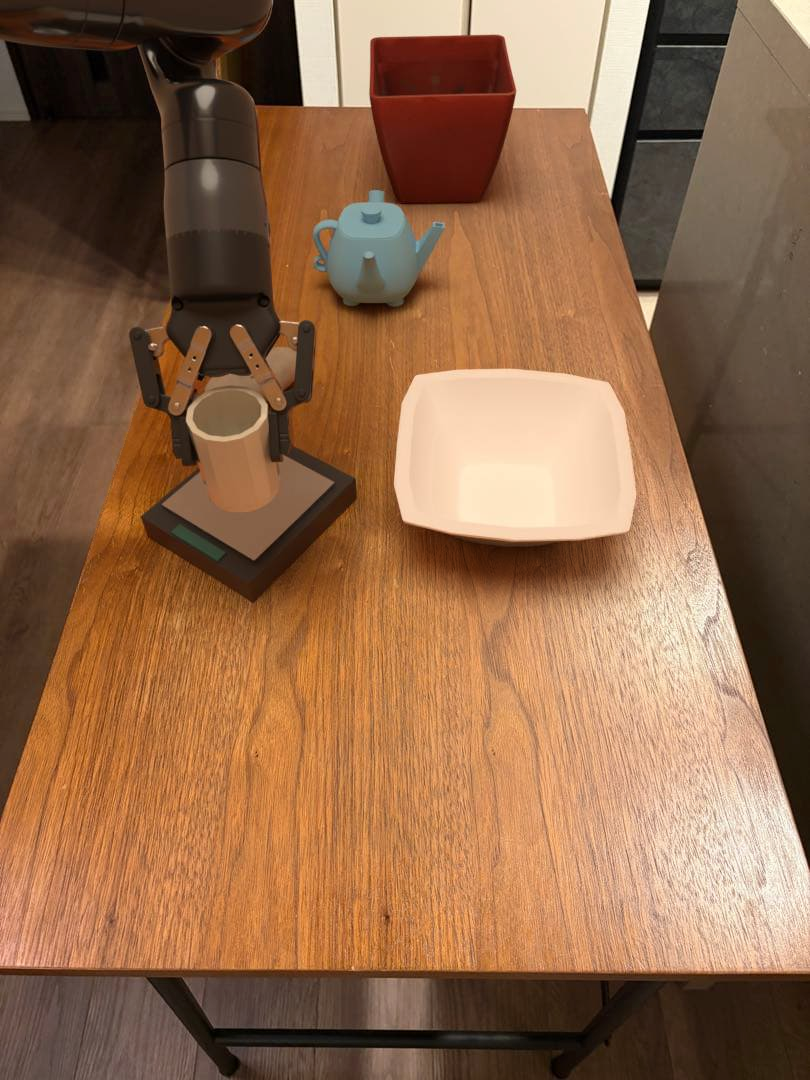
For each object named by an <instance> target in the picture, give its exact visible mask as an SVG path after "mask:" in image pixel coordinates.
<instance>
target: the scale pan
mask: <svg viewBox="0 0 810 1080" xmlns="http://www.w3.org/2000/svg"><path fill="white" fill-rule="evenodd" d="M278 464H279V469H280V479H281V484H280V488H279V491H278V493H277V495H276V496H275V497H274V499H273V500H272V501H270V502H269V503H268V504H266V505H265V506H263V507H261V508H259V509H257V510H253V511H249V512H242V513H237V512H229V511H226V510H223V509H221V508H219V507H217V506H216V505H215V504H214V503H213V502H212V501H211V500H210V498H209V497H208V494H207V491H206V489H205V486H204V483H203V479H202V476H201V472H199V473H198V474H197V475H196V476H194V477H193V478H192V479H191V480H190V481H188V482H187V483H186V484H185V485H184V486H182V487H181V488H180V489H179V490H178V491H177V492H175V493H174V494H173V495H172V496H171V497H169V498H168V499H167V500H166V501H165V502H164V503H162V508H163V509H165V510H167V511H168V512H170V513H172V514H173V515H175V516H177V517H178V518H180V519H181V520H183V521H185V522H186V523H188V524H190V525H191V526H193V527H195V528H196V529H198V530H200V531H201V532H203V533H205V534H206V535H208V536H210V537H211V538H213V539H214V540H216V541H218V542H219V543H221V544H223V545H224V546H226V547H228V548H229V549H231V550H233V551H234V552H236V553H238V554H239V555H241V556H243V557H244V558H246V559H247V560H249V561H251V562H252V563H254V564H255V563H256V562H257V561H258V560H260V559H261V558H262V557H263V556H264V555H265V554H266V553H267V552H268V551H269V550H270V549H271V548H272V547H273V546H274V545H275V544H276V543H277V542H278V541H279V540H280V539H281V538H282V537H283V536H284V535H285V534H286V533H287V532H288V531H289V530H290V529H291V528H292V527H293V526H295V525H296V524H297V523H298V522H299V521H300V520H301V519H302V518H303V517H304V516H305V515H306V514H307V513H308V512H309V511H310V510H311V509H312V508H313V507H314V506H315V505H316V504H317V503H318V502H319V501H320V500H321V499H322V498H323V497H324V496H325V495H326V494H327V493H328V492H330V491H331V490H332V489H333V488H334V487H335V482H334V481H332V480H330V479H328V478H326V477H324V476H322V475H320V474H319V473H317V472H315V471H313V470H311V469H309V468H307V467H305V466H304V465H302V464H300V463H298V462H296V461H294V460H292V459H290V458H289V457H287V456H285V455H283V462H278Z"/></svg>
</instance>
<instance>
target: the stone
mask: <svg viewBox="0 0 810 1080" xmlns="http://www.w3.org/2000/svg"><path fill="white" fill-rule="evenodd" d="M296 353H297V351H293V350H292V349H291V348H290V347H289V346H288V347H287V346H275V347H273V348H272V349H271V351H270V352H269V354H268V356H267V357H266V360H267V362H268V364H269V366H270V368H271V369H272V371H273V373H274V375H275V376H276V378H277V380H278V382H279V384H280V386H281V388H282V390H283V391H286V389H287V388H289V387H290V386H291V385H292V384H294V382H295V368H296ZM228 385H234V386H243V387H248V388H250V389H252V390H254V391H256V392H258V393H260V394H261V395H262V397H263V398H264V400H265V401H266V402H269V401H268V400H267V398H266V396H265V394H264V393H263V391H262V389H261V387H260V386H259V384H258V383H257V381H256V379H255V378H254V376H253V374H250V376H238V375H233V374H228V375H225V376H222V377H210V379H209V380H208V381H207V383H206V386H205V388H204V393H205V392H207V391H209V390H211V389H213V388H218V387H223V386H228Z"/></svg>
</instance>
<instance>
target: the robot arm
mask: <svg viewBox="0 0 810 1080" xmlns="http://www.w3.org/2000/svg"><path fill="white" fill-rule="evenodd" d="M273 5H274V0H0V41H4V42H10V43H14V44H21V45H28V46H33V47H34V46H35V47H43V48H52V49H53V48H54V49H68V50H69V49H70V50H81V51H82V50H83V51H97V52H101V51H102V52H116V51H126V50H130V49H132V48H135V47H137V48H138V52H139V54H140V55H139V56H140V58H141V61H142V64H143V66H144V67H143V68H144V71H145V72H146V77H147V80H148V83H149V87H150V90H151V93H152V95H153V98H154V100H155V103H156V107H157V108H158V112H159V115H160V130H161V143H162V155H163V156H162V157H163V170H164V191H163V215H164V216H163V217H164V229H165V242H166V253H167V254H166V255H167V269H168V280H169V281H168V282H169V294H170V295H169V296H170V306H171V307H170V308H171V309H170V315H169V318H168V319H167V322H166V325H162V326H156V327H152V328H146V329H145V328H142V327H140V326H134V327H133V328H131V329H130V331H129V334H128V337H129V341H130V346H131V352H132V355H133V360H134V364H135V369H136V374H137V379H138V383H139V387H140V388H139V389H140V392H141V397H142V402H143V404H144V406H146V407H147V408H150V409H154V410H156V411H160V412H163V413H165V414H167V416H168V417H169V420H170V429H171V430H170V431H171V443H172V453H173V455H174V457H175V459H176V460H179V459H181V464H182V466H183V467H197V466H198V462H197V458H196V455H195V451H194V448H193V444H192V441H191V437H190V434H189V430H188V427H187V423H186V416H187V409H188V407H189V406H190V405H191V404H192V402H193V401H194V400H195V399H196V398H197V397H198V396H199V392H201V390H202V388H203V386H204V384H205V381H206V379H207V377H208V378H212V377H222V376H225V375H228V374H233V375H238V376H250V374H253V376H254V378H255V379H256V381H257V383H258V384H259V386H260V387H261V389H262V391H263V393H264V394H265V396H266V398H267V400H268V401H267V402H268V403H269V405H270V412H269V413H268V417H269V435H270V450H271V461H272V462H283V454H289V452H290V449H291V445H292V441H291V426H290V425H291V424H290V423H291V422H290V413H291V411H292V410H293V409H294V408H295V407H298V406H301V405H303V404H307V403H309V402H311V400H312V398H313V391H314V390H313V389H314V375H315V362H316V349H317V347H316V346H317V335H318V333H317V332H318V331H317V328H316V326H315V324H314V323H313V321H310V320H308V319H304V320H301V321H300V322H299V321H289V320H281V319H280V318H279V316H278V315H277V312H276V309H275V303H274V291H273V288H274V287H273V276H272V275H273V273H272V262H271V261H272V259H271V243H270V237H271V224H270V222H269V213H268V204H267V197H266V191H265V188H264V187H265V186H264V182H263V174H262V173H263V171H262V157H261V141H260V127H259V117H258V110H257V106H256V104H255V101H254V98H253V97H252V96H251V94H250V92H248V91H247V90H246V89H245V88H244V87H242V86H241V85H240V84H237V83H235V82H234V81H229V80H226V79H221V78H218V72H217V62H218V61H217V60H218V59H219V58H221V57H223V56H225V55H227V54H229V53H230V52H233V51H234V50H236V49H239V48H240V47H242V46H244V45H246V44H248V43H250V42H251V41H253V40H254V39H256V38H257V36H259V35H260V34H261V32H262V31H263V30H264V29H265V27H266V25H268V22H269V20H270V17H271V15H272V9H273ZM281 336H284V337H285V338H286V341H287V345H288V348H291V349H292V350H293V351H297V353H296V368H295V380H294V381H293V385H294V386H293V388H290V389H288V390H282V388H281V386H280V384H279V382H278V380H277V378H276V376H275V375H274V373H273V371H272V369H271V368H270V366H269V364H268V362H267V360H266V357H267V356H268V354H269V352H270V351H271V349H272V348H274V346H275V344H277V342H278V340H279V339H280V337H281ZM169 341H171V343H172V344H173V345H174V347H176V349H177V351H179V353H181V355H182V356H183V357H184V360H183V363H182V366H181V368H180V369H179V373H178V375H177V378H176V385H175V387H174V390H173V392H172V394H171V396H170V395H167V394H166V389H165V385H164V379H163V375H162V370H161V364H160V360H159V358H161V357H163V356H164V355H165V351H166V348H165V346H166V344H167V342H169Z"/></svg>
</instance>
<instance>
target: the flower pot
mask: <svg viewBox="0 0 810 1080" xmlns="http://www.w3.org/2000/svg"><path fill="white" fill-rule="evenodd" d="M368 91H369V92H368V95H369V96H368V97H369V104H370V109H371V115H372V120H373V125H374V130H375V134H376V135H375V136H376V138H377V144H378V147H379V148H378V149H379V151H380V155H381V158H382V162H383V166H384V169H385V172H386V175H387V178H388V180H389V185H390V187H391V190H392V192H393V195H394V197H395V199H396V201H397V202H398V203H400V204H421V203H422V204H424V203H427V204H428V203H465V202H466V203H467V202H481V201H482V200H483V199H484V197H485V196H486V194H487V191H488V190H489V187H490V185H491V182H492V180H493V176H494V175H495V171H496V169H497V166H498V163H499V160H500V157H501V155H502V151H503V148H504V145H505V142H506V139H507V135H508V131H509V126H510V124H511V118H512V114H513V109H514V105H515V101H516V95H517V87H516V83H515V80H514V76H513V71H512V67H511V62H510V57H509V52H508V48H507V43H506V38H505V37H504V36H503V35H500V34H461V35H457V34H456V35H454V34H453V35H416V36H415V35H412V36H410V35H409V36H376V37H373V38H371V39H370V41H369V89H368Z"/></svg>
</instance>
